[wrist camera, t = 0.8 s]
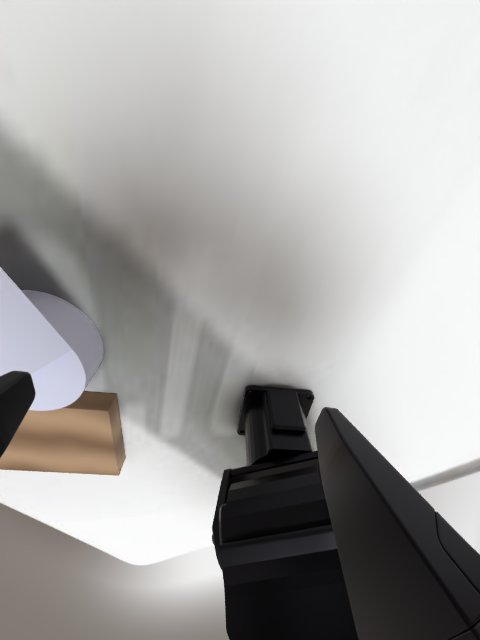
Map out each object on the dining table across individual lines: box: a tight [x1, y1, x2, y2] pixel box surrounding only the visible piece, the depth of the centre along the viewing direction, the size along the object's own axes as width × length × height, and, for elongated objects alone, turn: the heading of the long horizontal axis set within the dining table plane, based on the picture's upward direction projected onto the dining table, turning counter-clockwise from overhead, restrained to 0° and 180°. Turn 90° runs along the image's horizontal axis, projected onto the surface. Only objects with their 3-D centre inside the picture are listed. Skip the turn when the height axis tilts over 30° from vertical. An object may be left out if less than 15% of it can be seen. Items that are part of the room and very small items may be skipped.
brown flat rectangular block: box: [0, 391, 125, 475], centre depth 26 cm, size 10×20×2 cm, turn 82°
